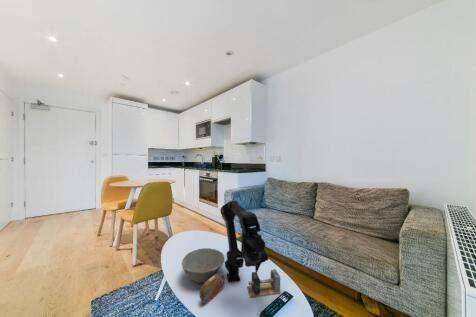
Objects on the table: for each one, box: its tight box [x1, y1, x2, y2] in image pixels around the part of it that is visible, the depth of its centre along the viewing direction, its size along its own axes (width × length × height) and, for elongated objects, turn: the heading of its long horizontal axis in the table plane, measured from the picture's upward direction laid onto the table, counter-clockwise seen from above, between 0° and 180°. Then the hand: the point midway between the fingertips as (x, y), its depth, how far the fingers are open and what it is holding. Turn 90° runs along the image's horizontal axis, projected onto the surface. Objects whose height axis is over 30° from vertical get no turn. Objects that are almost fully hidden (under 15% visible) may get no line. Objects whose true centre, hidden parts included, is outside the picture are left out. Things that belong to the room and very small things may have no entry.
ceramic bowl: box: [181, 247, 226, 284], centre depth 101 cm, size 22×23×10 cm
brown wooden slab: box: [199, 272, 226, 304], centre depth 88 cm, size 15×3×8 cm, turn 144°
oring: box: [251, 271, 261, 294], centre depth 91 cm, size 6×2×6 cm, turn 12°
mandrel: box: [246, 269, 281, 299], centre depth 92 cm, size 7×15×8 cm, turn 102°
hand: (246, 273), depth 86 cm, fingers open, 9 cm apart
